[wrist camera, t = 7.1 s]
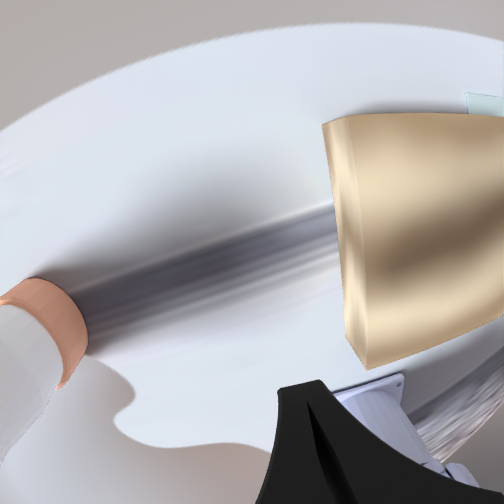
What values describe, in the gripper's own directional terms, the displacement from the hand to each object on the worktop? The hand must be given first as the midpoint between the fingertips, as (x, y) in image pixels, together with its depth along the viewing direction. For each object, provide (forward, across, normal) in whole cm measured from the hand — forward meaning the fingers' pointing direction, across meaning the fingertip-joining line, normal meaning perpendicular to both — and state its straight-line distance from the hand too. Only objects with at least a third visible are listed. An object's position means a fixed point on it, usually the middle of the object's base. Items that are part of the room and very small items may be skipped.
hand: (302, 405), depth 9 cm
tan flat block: (+10, -11, -2) cm, 15 cm away
